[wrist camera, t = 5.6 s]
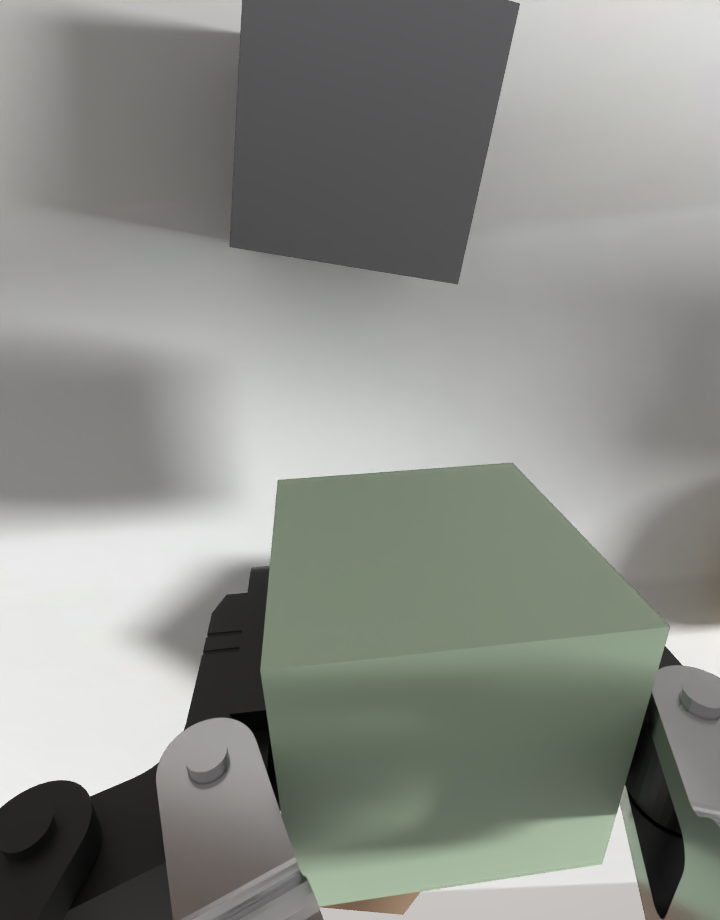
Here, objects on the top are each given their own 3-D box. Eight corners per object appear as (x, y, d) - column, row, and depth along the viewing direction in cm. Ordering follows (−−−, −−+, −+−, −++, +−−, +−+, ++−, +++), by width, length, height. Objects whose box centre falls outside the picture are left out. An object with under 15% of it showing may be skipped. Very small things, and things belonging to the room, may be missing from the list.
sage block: (512, 462, 11) (670, 626, 6) (493, 641, 13) (602, 864, 8) (277, 479, 10) (260, 670, 6) (297, 662, 12) (295, 911, 8)
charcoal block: (445, 80, 14) (520, 3, 9) (410, 270, 16) (457, 284, 11) (262, 36, 13) (246, -72, 8) (248, 243, 15) (229, 247, 10)
